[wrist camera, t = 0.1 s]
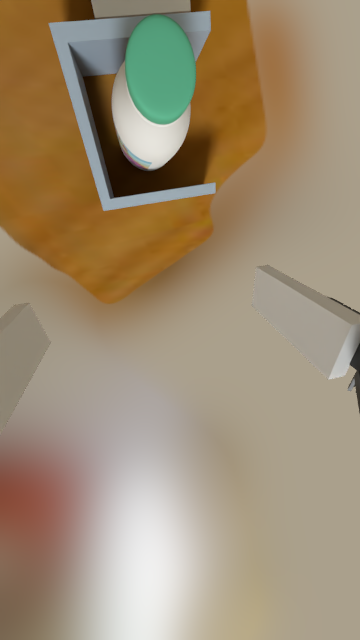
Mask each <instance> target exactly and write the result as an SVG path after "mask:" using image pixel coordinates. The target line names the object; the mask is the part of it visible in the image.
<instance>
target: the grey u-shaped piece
mask: <svg viewBox="0 0 360 640" xmlns="http://www.w3.org/2000/svg"><path fill="white" fill-rule="evenodd" d="M163 15H165V16H168V17H170V18H171V19H173V20H174V21H175V22H177V23H178V24H179V25H180V27H181V28H182V29H183V30H184V32H185V33H186V35H187V37H188V39H189V41H190V44H191V46H192V49H193V53H194V57H195V62H196V60H197V58H198V56H199V54H200V52H201V50H202V48H203V45H204V43H205V41H206V39H207V37H208V35H209V33H210V31H211V23H210V11H203V12H190V13H176V14H163ZM145 17H147V16H136V17H123V18H110V19H97V20H83V21H70V22H57V23H49V26H50V29H51V33H52V36H53V40H54V43H55V46H56V50H57V53H58V57H59V60H60V63H61V67H62V70H63V74H64V77H65V81H66V84H67V87H68V91H69V94H70V98H71V101H72V104H73V108H74V111H75V115H76V118H77V121H78V125H79V128H80V132H81V135H82V139H83V142H84V145H85V149H86V152H87V156H88V159H89V162H90V166H91V169H92V173H93V176H94V180H95V183H96V186H97V190H98V193H99V197H100V200H101V203H102V207H103V210H104V211H106V210H112V209H118V208H125V207H131V206H137V205H144V204H150V203H156V202H162V201H169V200H175V199H181V198H187V197H194V196H200V195H206V194H213V193H216V192H215V183H209V184H200V185H194V186H187V187H181V188H174V189H168V190H161V191H155V192H148V193H142V194H136V195H129V196H123V197H116V198H114V195H113V191H112V188H111V184H110V180H109V176H108V172H107V168H106V165H105V161H104V157H103V153H102V149H101V145H100V141H99V138H98V134H97V130H96V126H95V122H94V118H93V115H92V111H91V107H90V103H89V99H88V95H87V92H86V88H85V84H84V80H83V77H85V76H95V75H105V74H115V73H118V71H119V69H120V67H121V65H122V64H123V62H124V61H125V54H126V48H127V44H128V40H129V38H130V35H131V33H132V31H133V30H134V28H135V27H136V25H137V24H138V23H139V22H140V21H141V20H142V19H144V18H145Z"/></svg>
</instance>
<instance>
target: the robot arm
mask: <svg viewBox="0 0 360 640" xmlns="http://www.w3.org/2000/svg"><path fill="white" fill-rule="evenodd" d="M252 307H253V308H254V309H255V310H256V311H257V312H259V313H260V314H261V315H262V316H263V317H264V318H265V319H266V320H267V321H268V322H269V323H270V324H271V325H272V326H273V327H274V328H275V329H276V330H277V331H278V332H279V333H280V334H281V335H282V336H284V337H285V339H287V340H288V341H289V342H290V343H291V344H292V345H293V346H294V347H295V348H296V349H297V350H298V351H299V352H300V353H301V354H302V355H303V356H304V357H305V358H306V359H307V360H308V361H309V362H310V363H311V364H313V365H314V366H315V367H316V368H317V369H318V370H319V371H320V372H321V373H322V374H323V375H324V376H325V377H326V378H327V379H333V378H337V377H341V376H345V373H346V372H347V370H348V368H349V366H350V365H351V366H352V367H353V368H355V369H356V370H357V372H356V373H355V375H354V377H353V379H352V381H351V383H350V385H349V387H348V391H351V390H352V388H353V387H355V386H356V393H357V399H358V406H359V412H360V313H359V312H357V311H356V310H354V309H353V310H352V309H351V308H350V307H348V306H346V305H343V304H342V303H341V302H339V301H337V300H335V299H333V298H329V297H326V296H324V295H322V294H320V293H319V292H317V291H315V290H313V289H311V288H309V287H307V286H306V285H304V284H302V283H300V282H298V281H296V280H294V279H293V278H291V277H289V276H287V275H285V274H284V273H281V272H280V271H278V270H276V269H274V268H273V267H271V266H269V265H265V266H258V267H256V274H255V283H254V291H253V300H252ZM50 343H51V342H50V340H49V338H48V336H47V334H46V332H45V331H44V329H43V327H42V325H41V323H40V322H39V320H38V318H37V316H36V314H35V312H34V311H33V309H32V307H31V305H30V303H24V304H18V305H14V306H13V307H12V308H11V309H10V310H9V311H7V312H6V313H5V314H4V315H3V316H2V317H1V318H0V435H1V433H2V431H3V429H4V427H5V426H6V424H7V422H8V420H9V418H10V417H11V415H12V413H13V411H14V409H15V407H16V406H17V404H18V402H19V400H20V398H21V396H22V394H23V393H24V391H25V389H26V387H27V385H28V383H29V382H30V380H31V378H32V376H33V374H34V373H35V371H36V369H37V367H38V365H39V363H40V362H41V359H42V358H43V356H44V354H45V352H46V350H47V349H48V347H49V345H50Z"/></svg>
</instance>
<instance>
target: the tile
mask: <svg viewBox="0 0 360 640" xmlns="http://www.w3.org/2000/svg"><path fill="white" fill-rule="evenodd" d="M91 2H92V7H93V12H94V16H95V20H97V19H110V18H123V17H136V16H149V15H153V14H161V15H163V14H176V13H190V11H191V7H190V0H91Z"/></svg>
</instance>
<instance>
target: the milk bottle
mask: <svg viewBox="0 0 360 640" xmlns="http://www.w3.org/2000/svg"><path fill="white" fill-rule="evenodd" d="M195 82H196V64H195V57H194V53H193V49H192V46H191V44H190V41H189V39H188V37H187V35H186V33H185V32H184V30H183V29H182V28H181V27H180V25H179V24H178V23H177V22H175V21H174V20H173V19H171V18H170V17H168V16H165V15H161V14H153V15H149V16H147V17H145V18H144V19H142V20H141V21H140V22H139V23H138V24H137V25H136V27H135V28H134V30H133V31H132V33H131V35H130V38H129V40H128V44H127V48H126V54H125V61H124V62H123V64H122V65H121V67H120V69H119V71H118V73H117V75H116V78H115V81H114V85H113V91H112V113H113V120H114V125H115V129H116V133H117V137H118V140H119V144H120V147H121V149H122V151H123V153H124V155H125V157H126V158H127V159H128V161H129V162H130V163H131V164H132V165H134V166H135V167H137V168H138V169H141V170H144V171H153V170H157V169H159V168H160V167H162V166H163V165H164V164H166V163H167V162H168V161H169V160H170V159H171V158H172V157H173V156H174V155H175V154H176V152H177V151H178V150H179V148H180V147H181V145H182V144H183V142H184V140H185V137H186V134H187V131H188V128H189V123H190V101H191V99H192V96H193V93H194V89H195Z"/></svg>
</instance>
